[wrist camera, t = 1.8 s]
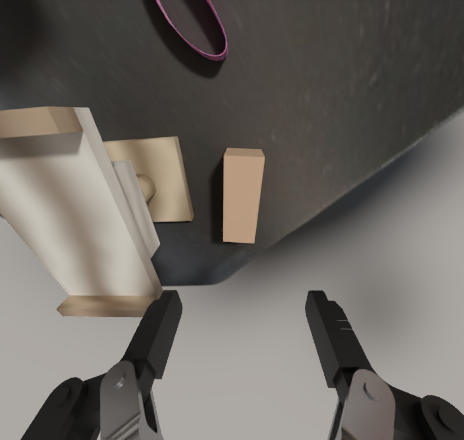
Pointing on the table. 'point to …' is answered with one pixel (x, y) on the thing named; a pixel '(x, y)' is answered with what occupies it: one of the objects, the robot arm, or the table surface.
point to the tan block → (241, 193)
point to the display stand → (90, 205)
